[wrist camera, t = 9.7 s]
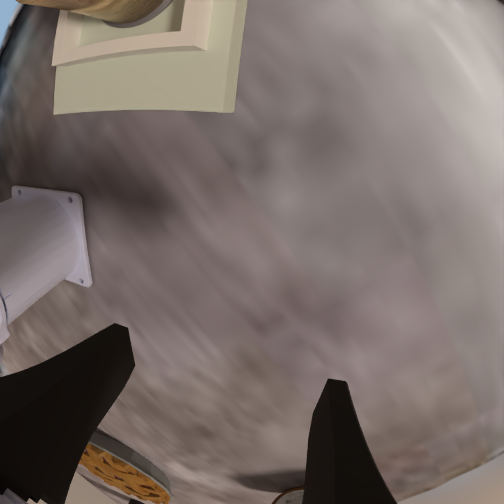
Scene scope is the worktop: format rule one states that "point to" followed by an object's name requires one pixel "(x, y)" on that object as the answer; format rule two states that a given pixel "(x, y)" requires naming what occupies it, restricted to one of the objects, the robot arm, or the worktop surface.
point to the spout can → (103, 8)
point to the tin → (290, 496)
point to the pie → (125, 469)
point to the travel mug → (135, 502)
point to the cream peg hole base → (151, 59)
